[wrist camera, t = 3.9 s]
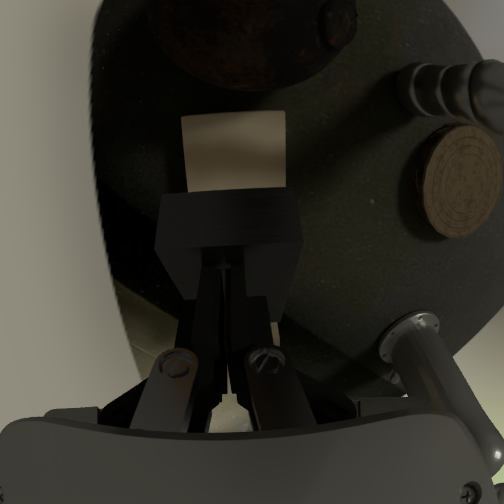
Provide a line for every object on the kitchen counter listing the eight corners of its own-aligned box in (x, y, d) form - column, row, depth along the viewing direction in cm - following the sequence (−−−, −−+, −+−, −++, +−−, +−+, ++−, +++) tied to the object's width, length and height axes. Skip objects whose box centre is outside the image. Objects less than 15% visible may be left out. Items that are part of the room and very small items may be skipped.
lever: (267, 323, 32) (269, 353, 30) (221, 325, 32) (222, 356, 30) (290, 167, 11) (303, 241, 10) (164, 175, 11) (154, 249, 10)
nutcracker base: (280, 295, 41) (293, 363, 30) (207, 299, 40) (199, 367, 30) (280, 110, 29) (304, 116, 18) (186, 115, 29) (157, 125, 18)
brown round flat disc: (398, 141, 31) (410, 145, 28) (481, 110, 28) (494, 114, 25) (421, 245, 38) (431, 255, 35) (493, 206, 35) (504, 214, 33)
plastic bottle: (382, 101, 28) (516, 128, 11) (396, 53, 25) (530, 44, 8) (424, 123, 29) (552, 169, 12) (437, 77, 26) (567, 95, 9)
